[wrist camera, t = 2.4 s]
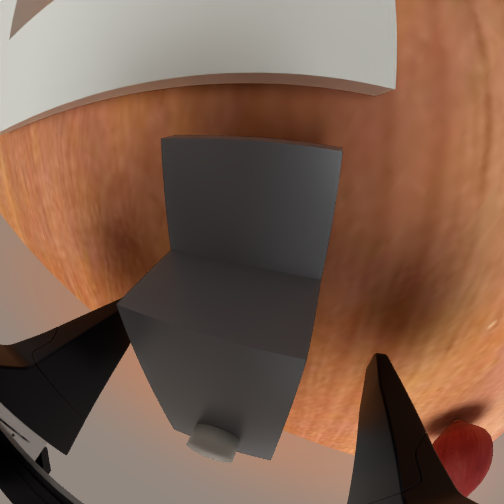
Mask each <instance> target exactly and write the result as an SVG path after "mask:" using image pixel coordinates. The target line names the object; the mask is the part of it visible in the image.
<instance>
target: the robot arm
mask: <svg viewBox="0 0 504 504" xmlns="http://www.w3.org/2000/svg"><path fill="white" fill-rule="evenodd" d="M121 299H122V298H121ZM121 299H119V300H116V301H114V302H112V303H110V304H107V305H105V306H103V307H101V308H98V309H96V310H94V311H92V312H89V313H87V314H85V315H83V316H81V317H78V318H76V319H74V320H72V321H70V322H67V323H65V324H63V325H61V326H59V327H56V328H54V329H52V330H49V331H47V332H45V333H42V334H40V335H37V336H35V337H32V338H29V339H26V340H24V341H21V342H18V343H15V344H12V345H0V489H1V490H2V491H3V493H4V494H5V495H6V496H7V497H8V499H9V500H10V501H11V502H12V503H13V504H83V503H82V502H81V501H79V500H78V499H77V498H75V497H74V496H73V495H71V494H70V493H69V492H68V491H67V490H65V489H64V488H63V487H62V486H61V485H60V484H58V483H57V482H56V481H55V480H54V479H53V478H51V477H50V476H49V475H48V474H49V473H50V471H51V469H50V463H49V457H48V450H47V448H46V447H45V445H46V444H47V443H49V444H51V445H52V446H53V447H55V448H56V449H57V450H59V451H60V452H62V453H63V454H65V455H67V454H68V452H69V450H70V449H71V447H72V445H73V443H74V441H75V439H76V437H77V435H78V433H79V431H80V429H81V428H82V426H83V424H84V422H85V420H86V418H87V416H88V415H89V413H90V411H91V409H92V407H93V406H94V404H95V402H96V400H97V399H98V397H99V395H100V393H101V392H102V390H103V388H104V386H105V385H106V383H107V381H108V380H109V378H110V376H111V374H112V373H113V371H114V370H115V368H116V366H117V365H118V363H119V361H120V360H121V358H122V356H123V355H124V353H125V351H126V350H127V348H128V346H129V344H130V343H131V341H130V339H129V337H128V334H127V332H126V329H125V326H124V324H123V321H122V318H121V316H120V313H119V310H118V307H117V305H116V304H117V303H118V302H119V301H120V300H121ZM425 432H426V430H425V428H424V426H423V424H422V422H421V420H420V418H419V416H418V414H417V412H416V410H415V407H414V405H413V403H412V401H411V399H410V398H409V396H408V394H407V392H406V390H405V388H404V386H403V384H402V382H401V380H400V378H399V376H398V375H397V373H396V371H395V369H394V367H393V365H392V363H391V362H390V360H389V358H388V356H387V355H386V354H381V353H376V354H374V356H373V358H372V359H371V361H370V363H369V365H368V367H367V369H366V374H365V381H364V387H363V393H362V399H361V404H360V411H359V422H358V434H357V443H356V452H355V460H354V468H353V474H352V480H351V486H350V492H349V498H348V503H347V504H478V503H476V502H474V501H472V500H470V499H468V498H467V497H465V496H464V495H462V494H461V493H460V492H459V491H458V489H457V488H456V487H455V485H454V483H453V482H452V480H451V478H450V476H449V474H448V473H447V471H446V469H445V468H444V466H443V464H442V462H441V460H440V459H439V457H438V455H437V453H436V451H435V449H434V447H433V445H432V443H431V441H430V439H429V437H428V434H427V433H425Z"/></svg>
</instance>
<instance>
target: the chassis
mask: <svg viewBox="0 0 504 504" xmlns="http://www.w3.org/2000/svg"><path fill="white" fill-rule="evenodd" d="M396 67H397V25H396V6H395V0H0V135H3V134H5V133H8V132H11V131H13V130H15V129H18V128H20V127H22V126H25V125H27V124H30V123H32V122H35V121H37V120H40V119H43V118H45V117H48V116H51V115H54V114H57V113H60V112H63V111H66V110H69V109H72V108H76V107H79V106H82V105H86V104H90V103H94V102H97V101H101V100H106V99H110V98H114V97H119V96H124V95H129V94H134V93H140V92H145V91H152V90H158V89H166V88H174V87H183V86H193V85H207V84H229V83H266V84H287V85H301V86H312V87H321V88H329V89H336V90H343V91H349V92H355V93H361V94H366V95H371V96H378V95H381V94H384V93H387V92H389V91H392V90H395V88H396Z"/></svg>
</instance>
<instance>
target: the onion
mask: <svg viewBox="0 0 504 504" xmlns="http://www.w3.org/2000/svg"><path fill="white" fill-rule="evenodd" d="M432 445H433V447H434V449H435V451H436V453H437V455H438V457H439V459H440V460H441V462H442V464H443V466H444V468H445V469H446V471H447V473H448V474H449V476H450V478H451V480H452V482H453V483H454V485H455V487H456V488H457V489H458V491H459V492H460V493H461V494H462V495H464V496H465V497H467V496H468V495H469V494H470V493H471V492H472V491H473V490H475V489H476V487H477V486H478V485H479V484H480V483H481V482H482V480H483V479H484V477H485V476H486V474H487V472H488V470H489V468H490V465H491V462H492V456H493V442H492V439H491V436H490V434H489V433H488V432H487V431H486V430H485V429H483V428H481V427H479V426H476V425H473V424H469V423H467V422H465V421H463V420H455V421H453V422H451V423H450V424H449V426H448V427H447V428H446V429H445V430H444V431H443V432H442V433H441V435H440V436H439V437H438V438H437V439H436V440H435V441H434V443H433V444H432Z"/></svg>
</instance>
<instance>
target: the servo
mask: <svg viewBox="0 0 504 504" xmlns="http://www.w3.org/2000/svg"><path fill="white" fill-rule="evenodd" d="M161 149H162V166H163V180H164V192H165V203H166V213H167V222H168V231H169V239H170V247H171V251H169V252H168V253H167V254H166V255H165V256H164V257H163V258H162V259H161V260H160V261H159V262H158V263H157V264H156V265H155V266H154V267H153V268H152V269H151V270H150V271H149V272H148V273H147V274H146V275H145V276H144V277H143V278H142V279H141V280H140V281H139V282H138V283H137V284H136V285H135V286H134V287H133V288H132V289H131V290H130V291H129V292H128V293H127V294H126V295H125V296H124V297H123V298H122V299H121V300H120V301H119V302H118V303H117V304H116V305H117V307H118V310H119V313H120V316H121V318H122V321H123V324H124V326H125V329H126V332H127V334H128V337H129V339H130V341H131V344H132V346H133V348H134V351H135V353H136V356H137V358H138V360H139V362H140V365H141V367H142V369H143V371H144V373H145V375H146V377H147V380H148V382H149V384H150V386H151V388H152V390H153V392H154V394H155V396H156V397H157V399H158V401H159V403H160V405H161V407H162V408H163V411H164V413H165V414H166V416H167V418H168V420H169V421H170V423H171V425H172V426H173V428H174V429H175V430H177V431H179V432H182V433H184V434H187V435H190V438H189V440H188V442H187V446H188V447H189V448H191V449H192V450H194V451H195V452H197V453H199V454H201V455H203V456H205V457H208V458H211V459H214V460H217V461H221V462H232V461H233V458H234V456H235V453H236V452H240V453H244V454H247V455H251V456H255V457H259V458H263V459H267V460H271V458H272V456H273V453H274V451H275V448H276V446H277V443H278V441H279V438H280V436H281V433H282V431H283V428H284V425H285V423H286V420H287V417H288V415H289V412H290V409H291V406H292V403H293V400H294V398H295V395H296V392H297V389H298V386H299V383H300V380H301V377H302V373H303V370H304V367H305V364H306V361H307V356H308V352H309V347H310V342H311V336H312V331H313V326H314V320H315V315H316V309H317V303H318V297H319V290H320V284H321V278H322V274H323V269H324V264H325V259H326V254H327V249H328V244H329V238H330V233H331V227H332V222H333V216H334V210H335V204H336V197H337V191H338V184H339V177H340V169H341V162H342V153H343V150H342V147H336V146H330V145H323V144H316V143H309V142H301V141H292V140H283V139H272V138H260V137H246V136H224V135H173V136H169V137H165V138H162V139H161Z"/></svg>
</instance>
